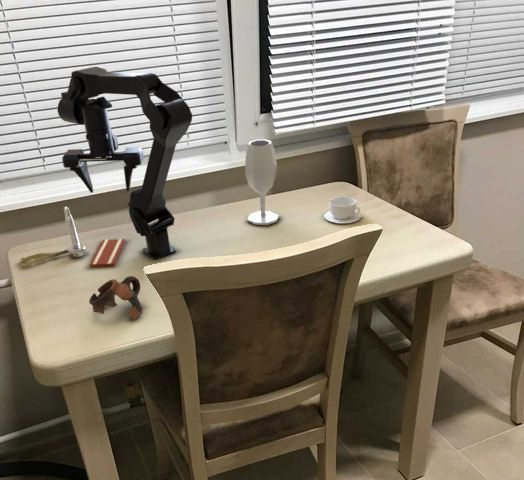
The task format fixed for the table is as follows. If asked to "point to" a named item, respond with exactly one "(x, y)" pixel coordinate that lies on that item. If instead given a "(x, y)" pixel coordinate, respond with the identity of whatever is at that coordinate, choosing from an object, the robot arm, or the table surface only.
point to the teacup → (343, 210)
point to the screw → (73, 236)
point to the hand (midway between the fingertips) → (110, 191)
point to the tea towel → (107, 253)
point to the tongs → (40, 257)
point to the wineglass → (261, 177)
